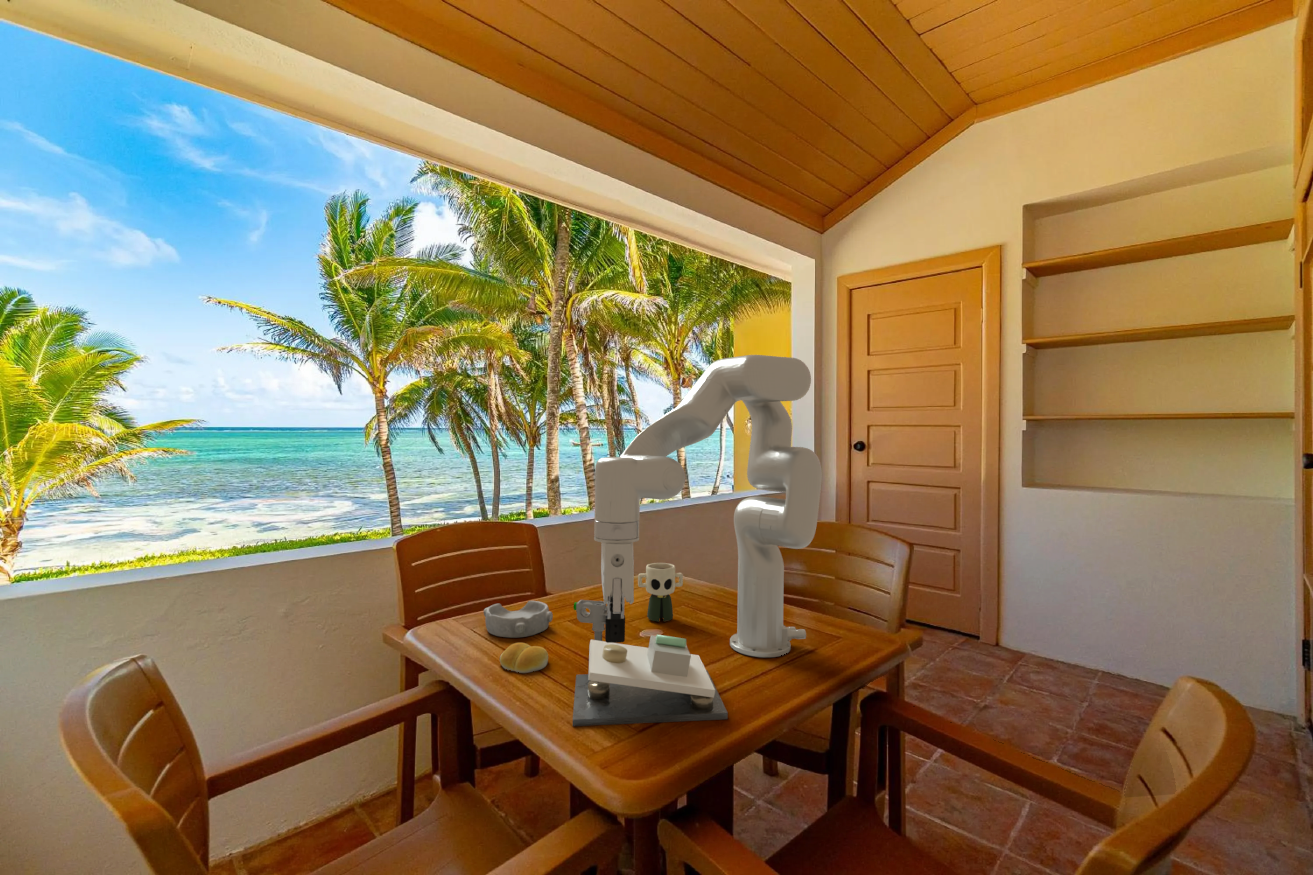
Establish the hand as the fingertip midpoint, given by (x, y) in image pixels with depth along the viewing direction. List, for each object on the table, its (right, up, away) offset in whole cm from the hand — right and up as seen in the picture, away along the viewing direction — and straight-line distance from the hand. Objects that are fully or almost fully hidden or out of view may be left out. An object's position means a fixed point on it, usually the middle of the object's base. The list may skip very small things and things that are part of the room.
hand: (614, 640), depth 93 cm
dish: (-25, -10, +34) cm, 43 cm away
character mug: (+8, -10, +41) cm, 43 cm away
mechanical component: (-5, -10, +21) cm, 24 cm away
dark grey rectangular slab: (+5, -10, +1) cm, 11 cm away
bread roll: (-19, -10, +14) cm, 25 cm away
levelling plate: (+5, -5, +1) cm, 8 cm away
